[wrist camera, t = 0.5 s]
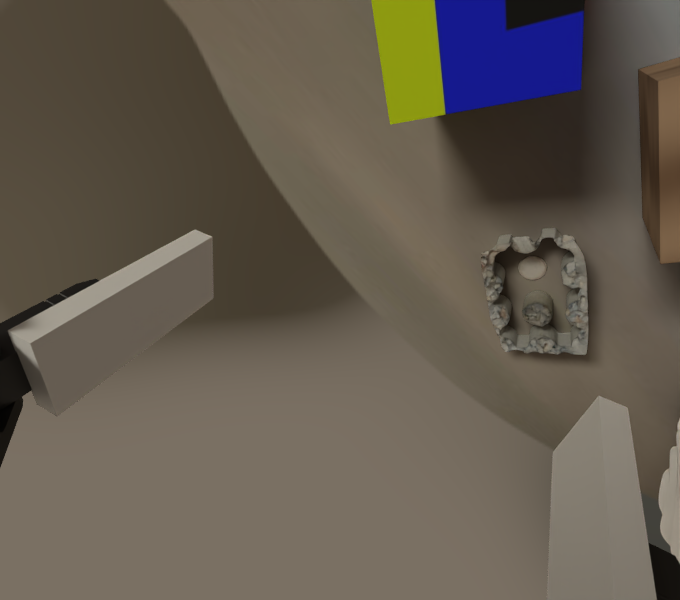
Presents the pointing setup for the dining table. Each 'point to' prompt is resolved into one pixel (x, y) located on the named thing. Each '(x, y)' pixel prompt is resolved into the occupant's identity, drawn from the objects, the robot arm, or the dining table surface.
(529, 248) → the grey piece
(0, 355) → the robot arm
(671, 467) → the shell sculpture
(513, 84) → the puzzle toy
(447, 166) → the dining table surface
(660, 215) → the hollow square sleeve
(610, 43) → the dining table surface
